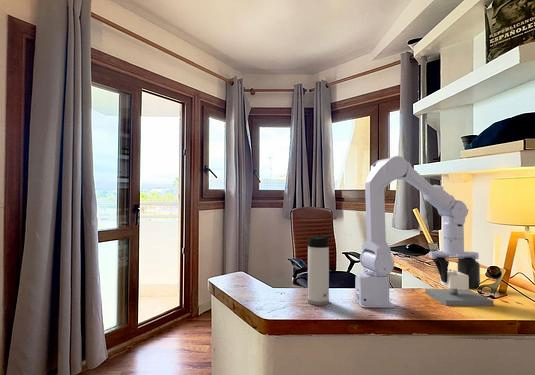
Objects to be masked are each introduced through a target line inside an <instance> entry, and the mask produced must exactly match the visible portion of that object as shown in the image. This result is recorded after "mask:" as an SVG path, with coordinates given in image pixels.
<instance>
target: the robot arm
mask: <svg viewBox="0 0 535 375" xmlns="http://www.w3.org/2000/svg"><path fill="white" fill-rule="evenodd" d="M411 164H412V163H411V162H409V161H407V160H406V159H405V158H404V157H402V156H400V155H397V156H396V155H395V156H393V157H389V158H383V159H379V160H376V161H375V162H374V163H373V164H372V165H371V166H370V172H369V173H368V175H367V177H366V180H365V183H364V186H365V187H364V190H365V193H364V196H365V197H364V198H365V227H366V228H365V229H366V230H365V232H366V241H365V242H364V243H363V244H362V245H361V246H362V247H361V249H362V250H361V253H360V256H359V262H360V265H361V266H362V267H363V272H361V273H360V272H359V273H358V272H357V273H356V274H355V279H354V280H355V281H354V282H355V284H354V285H355V286H354V287H355V288H354V289H355V290H354V292H355V294H354V295H355V297H354V300H355V301H356V302H357V303H358V304H359V305H360V307H362V308H381V309H383V308H384V309H385V308H387V309H389V308H391V309H392V308H396V306H395V305H394V304H393V303H392V302H391V301H390V276H391V273H392V271H393V270H394V268H395V260H394V258H393V256H392V252H391V251H392V250H391V247H390V246H389V244H388V243H387V239H386V238H387V237H386V236H387V234H386V233H387V232H386V205H385V204H386V203H385V198H386V196H385V189H386V187H387V186H389V185H390V184H391V183H392V182H393V181H396V180H401V181H402V180H403V181H405V182H407V183H408V184H410V185H411V186H413V187H414V188H415V189H416V190H418V191H419V192H420V193H422V194H423V199H424V200H425V201H426V202H427V203H429V204H430V205H431V206H432V207H434V208H435V209H436V210H437V212H438V215H439V216H440V217H442V250H435V251H429V252H428V258H430V259H432V260H433V262H434V264H435V266H436V268H437V270H438V274H439V277H441V281H443V282H447V271H448V270H449V269H448V268H449V264H450V261H449V260H447V259H457V260H458V261H459V265H460V273H463V274H466V275H468V276H469V273H470V271H471V269H472V267H473V266H474V264H475V260H473V259H476V260H478V259H479V257H480V254H479V252H476V251H465V228H464V225H465V223H466V218H467V216H468V213H469V208H468V207H467V205H466V203H465V202H464V201H462V200H458V199H456V198H455V196H453V194H449V192H448V191H446V190H445V189H444V187H443V186H442V185H438V184H433V185H432V184H431V183H430V182H429V181H427V180H426V179H425V177H423V176H422V175H421V174H420V173H419V172H418V171H417V170H415V169H414V168H413V166H412V165H411ZM458 261H457V262H458Z"/></svg>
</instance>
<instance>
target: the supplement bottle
mask: <svg viewBox="0 0 535 375" xmlns="http://www.w3.org/2000/svg"><path fill="white" fill-rule="evenodd" d="M473 260H475V264H474V266H473V267H472V269H471V271H470V273H469V289H468V290H470V289H471V290H477V288H478V287H479V285H480V286H481V269H480V268H481V264H480V262H478V261H477V259H473ZM457 271H458V272H460V265H459V261H457ZM478 289H479V288H478Z"/></svg>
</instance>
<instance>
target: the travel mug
mask: <svg viewBox="0 0 535 375" xmlns="http://www.w3.org/2000/svg"><path fill="white" fill-rule="evenodd" d="M330 238H331V236H330V235H329V234H326V235H316V236H312V237H311V236H310V237H308V239H307V240H308V241H307V243H308V244H307V302H308V303H309V304H311V305H314V306H326V305H329V302H330V301H329V300H330V297H329V296H330V293H329V292H330V289H329V287H330V250H329V248H330V246H329V239H330Z"/></svg>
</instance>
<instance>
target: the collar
mask: <svg viewBox="0 0 535 375" xmlns="http://www.w3.org/2000/svg"><path fill="white" fill-rule="evenodd" d="M439 277H440V276H439ZM439 280H440V282H439V283H440V285H442V286H444V287H446V288H447V289H468V290H470V289H469V276H468V275H466V274H463V273H460V272H458V270H457V271H450V270H449V271H448V270H447V282H443V281H441V277H440V278H439Z"/></svg>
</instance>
